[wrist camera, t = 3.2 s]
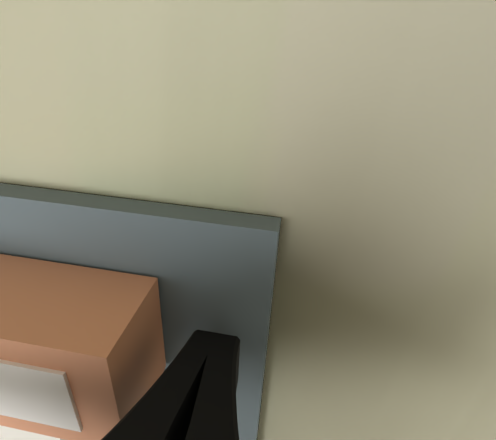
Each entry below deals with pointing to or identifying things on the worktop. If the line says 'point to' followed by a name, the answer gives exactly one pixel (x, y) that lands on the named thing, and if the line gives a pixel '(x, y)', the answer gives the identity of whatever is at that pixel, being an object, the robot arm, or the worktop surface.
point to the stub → (75, 346)
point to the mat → (164, 265)
